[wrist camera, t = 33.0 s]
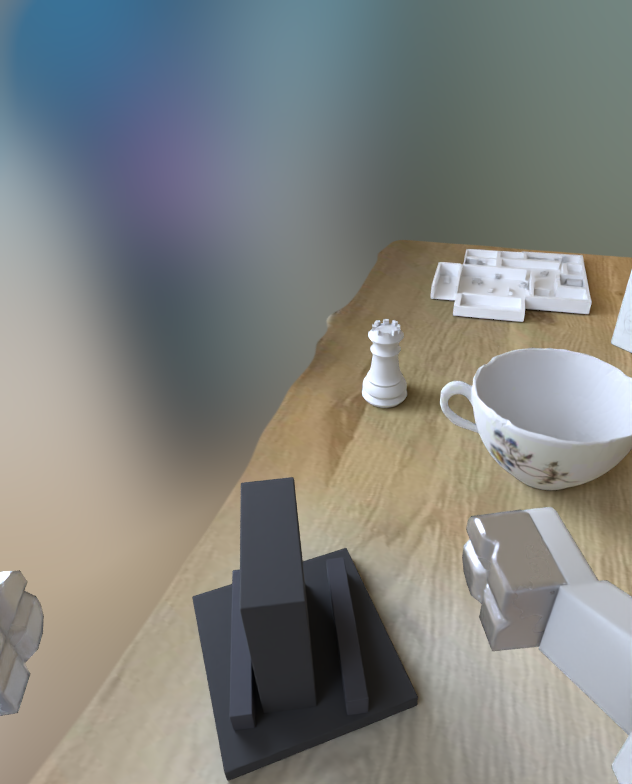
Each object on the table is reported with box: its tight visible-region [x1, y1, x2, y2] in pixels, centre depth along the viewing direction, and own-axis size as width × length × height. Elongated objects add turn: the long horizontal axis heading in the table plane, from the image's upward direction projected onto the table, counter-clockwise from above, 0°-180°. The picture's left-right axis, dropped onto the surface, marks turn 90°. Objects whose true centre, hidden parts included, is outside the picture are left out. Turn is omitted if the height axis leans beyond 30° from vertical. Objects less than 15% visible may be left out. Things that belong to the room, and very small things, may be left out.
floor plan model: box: [431, 249, 592, 322], centre depth 70 cm, size 19×25×2 cm
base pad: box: [193, 548, 418, 781], centre depth 34 cm, size 11×11×3 cm
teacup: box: [440, 348, 632, 490], centre depth 45 cm, size 15×12×8 cm
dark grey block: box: [240, 477, 317, 713], centre depth 31 cm, size 8×3×10 cm, turn 6°
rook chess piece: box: [362, 319, 407, 408], centre depth 53 cm, size 4×4×8 cm
